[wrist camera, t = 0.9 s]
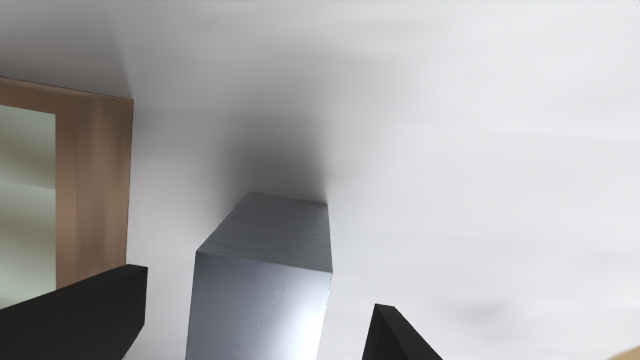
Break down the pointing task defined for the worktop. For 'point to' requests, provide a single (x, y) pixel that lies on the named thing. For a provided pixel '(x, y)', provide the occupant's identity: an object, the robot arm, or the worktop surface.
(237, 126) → the worktop surface
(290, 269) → the charcoal peg
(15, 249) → the walnut box
